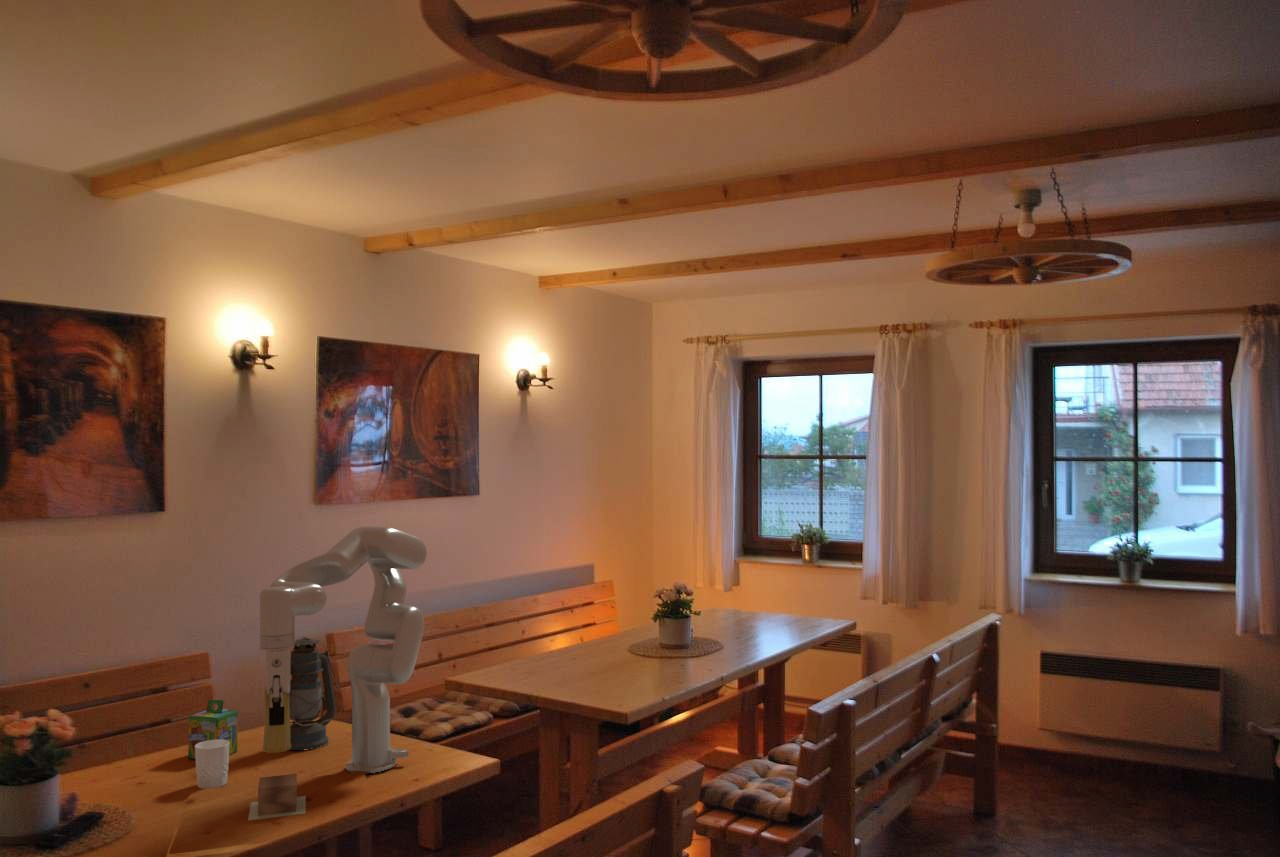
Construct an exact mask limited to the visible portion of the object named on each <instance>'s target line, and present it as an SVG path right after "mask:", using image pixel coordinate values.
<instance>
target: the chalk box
mask: <svg viewBox="0 0 1280 857" xmlns="http://www.w3.org/2000/svg"><path fill="white" fill-rule="evenodd" d="M214 705H217V706H218V707H217V708H213V707H212V706H214ZM206 706H207V707H206V709H205V710H202V711H200V712H196V713H194V714H192V715H189V717H188V750H187V752H188V754H187V759H189V760H195V745H196V744H198V743H200V742H204V741H208V740H217V739H222V740H228V741H229V742H230V744H229V756H231V755H233V754H235V753H237V752H238V730H239V729H238V726H239V722H238V721H239V717H238V716H239V711H238V709H229V708H224V700H223V699H208V701H207V705H206ZM236 751H237V752H236ZM234 752H235V753H234Z"/></svg>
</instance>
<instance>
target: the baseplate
mask: <svg viewBox="0 0 1280 857" xmlns="http://www.w3.org/2000/svg"><path fill="white" fill-rule="evenodd" d="M306 798H307V796H306V795H302V796H301V795H299V796H297V805H296V811H295V812H287V813H278V814H270V815H262V816H258V800H256V801H251V802H250V805H249V811H248V812H249V813H248V818H247V821H253V820H254V821H255V820H264V819H271V818H279V817H288V816H295V815H303V814H306V812H307V811H306V810H307V808H306V807H307V806H306V804H307V802H306V801H307V799H306Z"/></svg>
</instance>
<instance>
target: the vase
mask: <svg viewBox="0 0 1280 857" xmlns="http://www.w3.org/2000/svg"><path fill="white" fill-rule="evenodd" d="M281 690H282V688H281ZM281 690H279V693H281ZM272 693H273V691H272ZM279 697H281V696H279ZM283 706H284V724H283V725H274V726H270V725H269V707H270V695H269V694H268V693H267V686H265V687H264V731H263V732H264V733H263V744H262V751H263V753H267V754H268V753H269V754H278V753H282V752H286V751H287V750H289V749H290V748H291V743H290V724H291V723H290V722H291V718H290V706H289V693H287V692H284V691H283ZM287 752H288V751H287Z"/></svg>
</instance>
